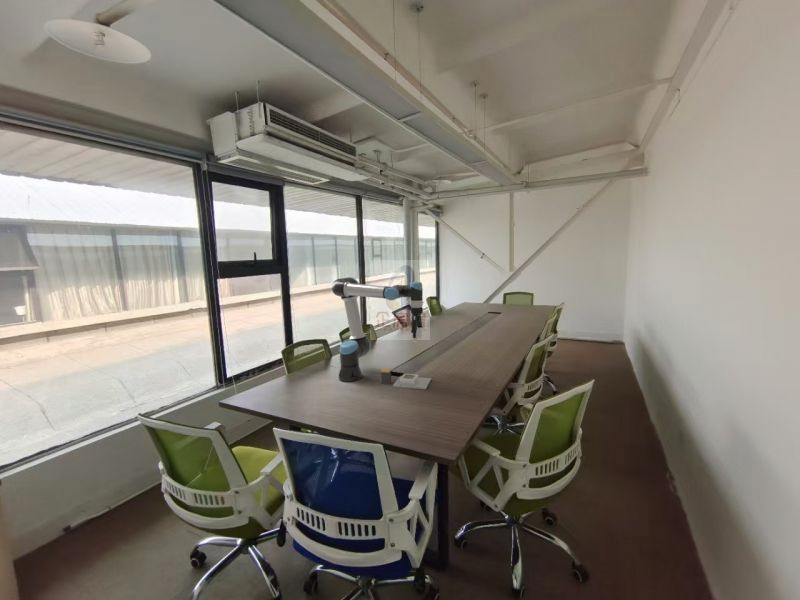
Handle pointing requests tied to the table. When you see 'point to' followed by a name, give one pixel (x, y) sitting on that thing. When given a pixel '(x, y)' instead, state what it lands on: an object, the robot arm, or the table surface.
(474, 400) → the table surface
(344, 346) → the robot arm
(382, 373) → the plug
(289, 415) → the table surface
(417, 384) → the socket plate
